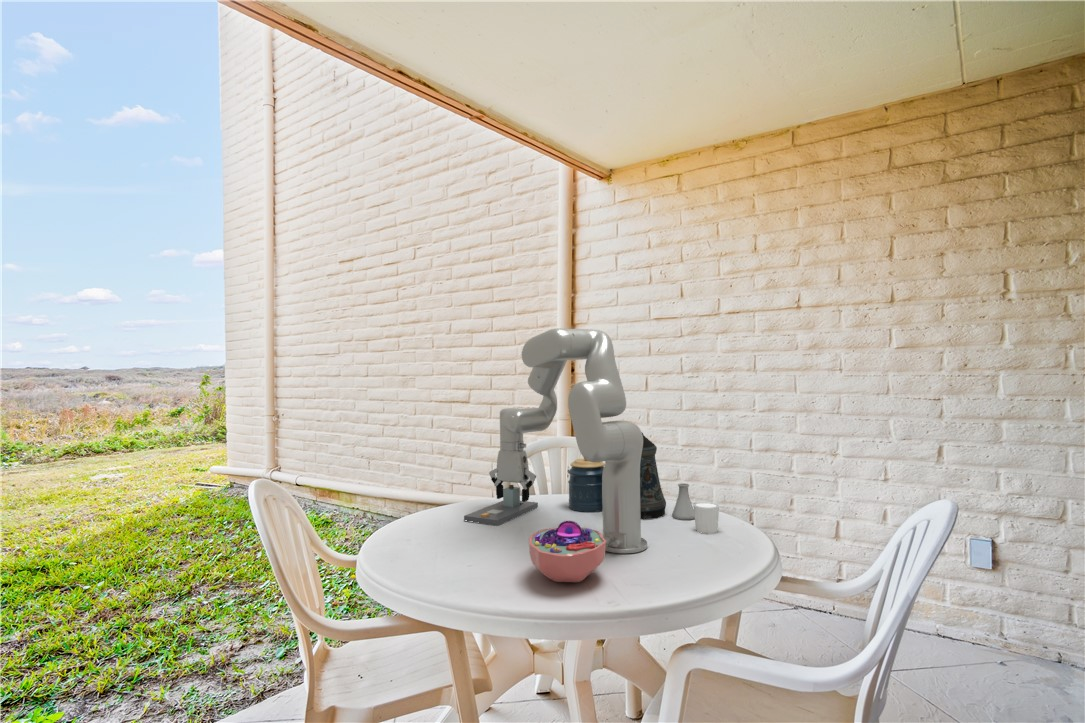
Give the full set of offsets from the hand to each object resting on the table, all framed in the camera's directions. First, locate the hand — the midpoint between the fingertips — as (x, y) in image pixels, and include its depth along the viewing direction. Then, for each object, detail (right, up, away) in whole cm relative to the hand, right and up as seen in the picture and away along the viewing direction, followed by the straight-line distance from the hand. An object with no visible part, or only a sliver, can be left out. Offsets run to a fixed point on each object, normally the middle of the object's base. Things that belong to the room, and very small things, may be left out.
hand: (512, 499), depth 179 cm
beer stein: (+39, -3, -8) cm, 40 cm away
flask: (+52, -2, -13) cm, 54 cm away
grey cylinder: (+55, -2, -27) cm, 61 cm away
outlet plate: (-3, -3, -5) cm, 7 cm away
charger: (0, -3, 0) cm, 3 cm away
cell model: (+15, -2, -60) cm, 62 cm away
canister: (+25, -3, +1) cm, 25 cm away
